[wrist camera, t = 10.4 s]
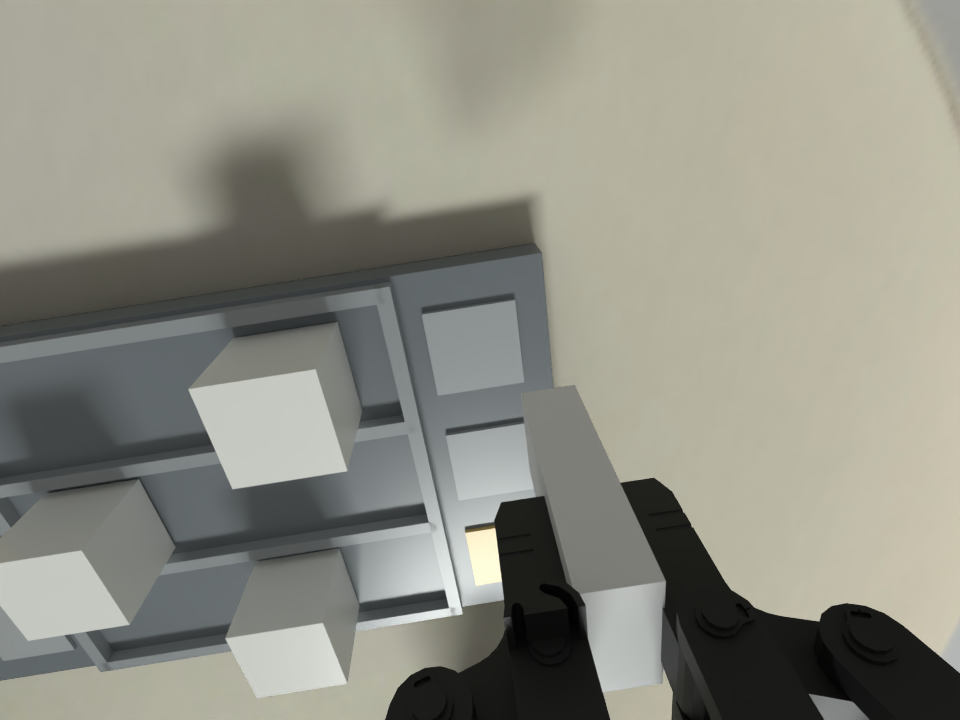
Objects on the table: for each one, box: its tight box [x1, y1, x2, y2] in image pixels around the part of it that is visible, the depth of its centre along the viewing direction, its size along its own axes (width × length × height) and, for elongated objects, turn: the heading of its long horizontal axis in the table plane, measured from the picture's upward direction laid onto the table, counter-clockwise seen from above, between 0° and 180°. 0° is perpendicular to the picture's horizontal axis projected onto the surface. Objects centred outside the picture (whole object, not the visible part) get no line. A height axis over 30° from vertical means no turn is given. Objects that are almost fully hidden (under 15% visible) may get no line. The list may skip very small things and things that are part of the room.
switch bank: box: [0, 244, 553, 681], centre depth 24 cm, size 30×18×2 cm, turn 98°
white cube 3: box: [188, 322, 362, 489], centre depth 19 cm, size 4×4×4 cm
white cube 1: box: [225, 548, 359, 698], centre depth 24 cm, size 4×4×4 cm
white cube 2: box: [0, 479, 176, 641], centre depth 21 cm, size 4×4×4 cm
